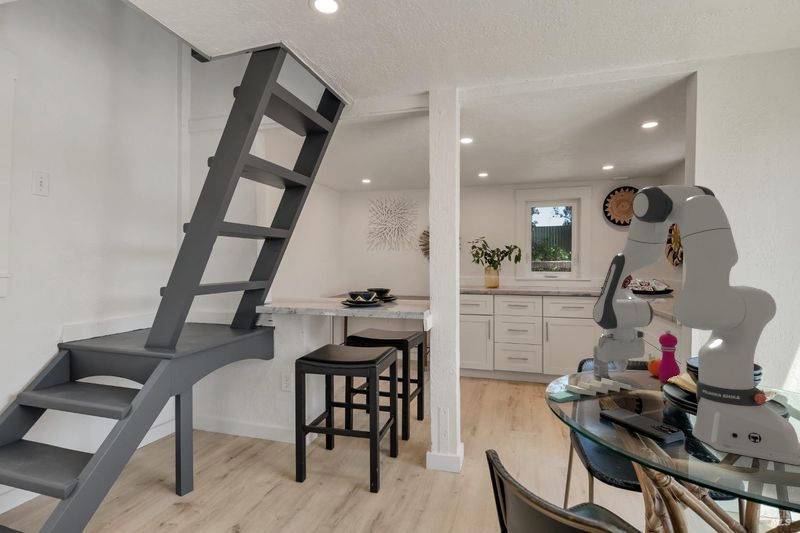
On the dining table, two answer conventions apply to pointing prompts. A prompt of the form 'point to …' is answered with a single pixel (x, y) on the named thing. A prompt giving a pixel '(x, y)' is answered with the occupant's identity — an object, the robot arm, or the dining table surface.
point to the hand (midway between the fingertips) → (621, 371)
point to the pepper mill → (668, 357)
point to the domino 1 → (564, 396)
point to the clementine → (654, 366)
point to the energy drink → (599, 365)
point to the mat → (584, 396)
